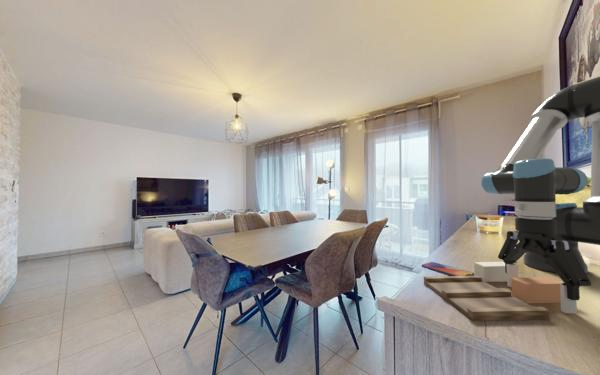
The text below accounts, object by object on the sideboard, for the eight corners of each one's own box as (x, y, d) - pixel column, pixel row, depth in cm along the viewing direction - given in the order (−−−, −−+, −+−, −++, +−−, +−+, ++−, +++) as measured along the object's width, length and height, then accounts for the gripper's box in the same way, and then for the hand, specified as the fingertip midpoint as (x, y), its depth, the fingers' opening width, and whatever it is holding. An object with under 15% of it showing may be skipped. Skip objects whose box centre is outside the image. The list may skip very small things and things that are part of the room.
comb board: (478, 281, 69) (478, 275, 69) (549, 319, 49) (549, 310, 49) (424, 282, 69) (423, 276, 69) (472, 320, 49) (472, 311, 49)
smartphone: (432, 264, 87) (432, 261, 87) (476, 276, 74) (475, 273, 74) (420, 267, 84) (420, 265, 84) (463, 281, 70) (463, 277, 70)
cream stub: (505, 276, 72) (504, 261, 72) (516, 281, 68) (516, 265, 69) (474, 277, 73) (474, 262, 73) (484, 282, 69) (484, 266, 69)
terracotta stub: (548, 295, 59) (548, 277, 60) (566, 303, 55) (565, 283, 56) (511, 296, 60) (511, 278, 60) (526, 303, 56) (525, 284, 56)
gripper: (482, 212, 70) (484, 278, 70) (579, 224, 45) (583, 327, 45) (505, 212, 70) (508, 278, 70) (616, 224, 45) (620, 327, 45)
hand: (537, 297), depth 57 cm, fingers open, 13 cm apart
